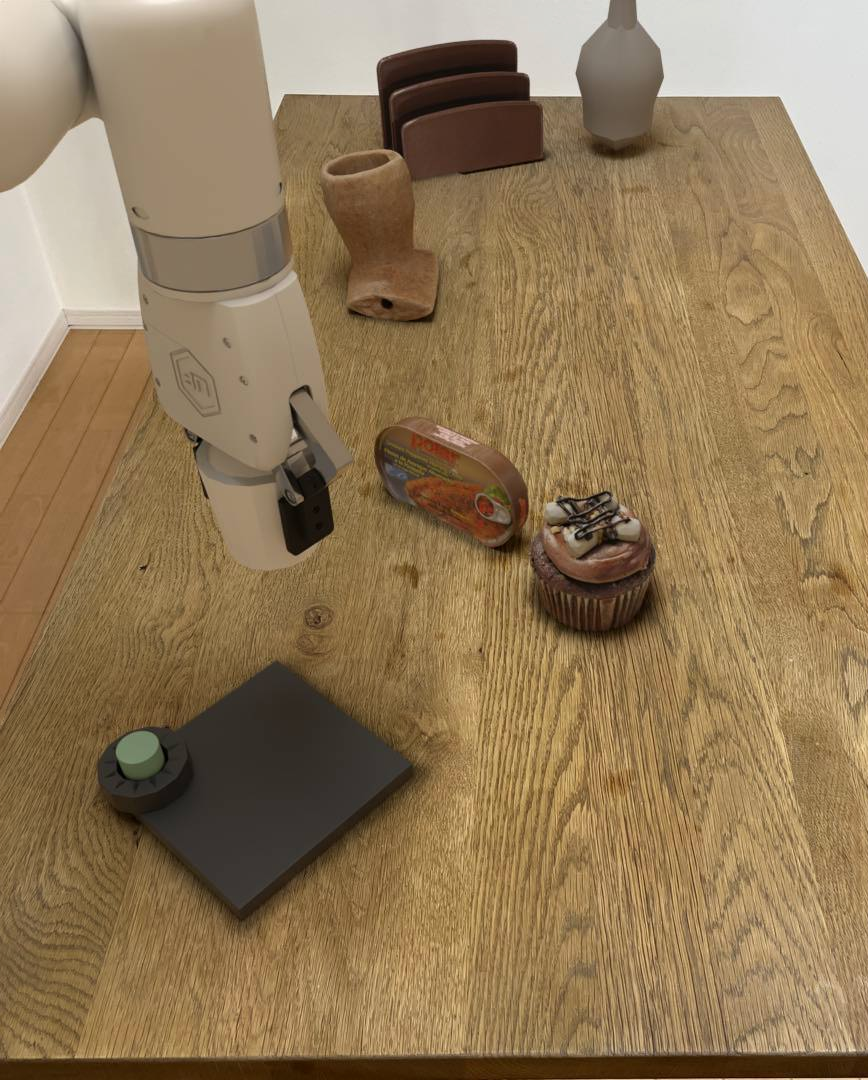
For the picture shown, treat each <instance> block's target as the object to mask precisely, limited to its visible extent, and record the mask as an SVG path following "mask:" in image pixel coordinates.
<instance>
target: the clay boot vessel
mask: <svg viewBox="0 0 868 1080" xmlns="http://www.w3.org/2000/svg"><path fill="white" fill-rule="evenodd" d="M319 183H320V188H321V191H322V192H321V193H322V196H323V197H322V198H323V202H324V206H325V208H326V211H327V214H328V215H329V217H330V219H331V221H332V223H333V225H334V226H335V228H336V230H337V233H338V234H339V236H340V238H341V240H342V242H343V244H344V246H345V248H346V250H347V252H348V255H349V256H350V259H351V262H352V268H351V270H350V272H349V277H348V283H347V296H346V300H345V303H346V307H347V308H348V309H350V310H351V311H354V312H356V313H359V314H361V315H363V316H366V317H370V318H375V319H385V320H394V321H398V322H408V321H414V320H418V319H422V318H425V317H427V316H429V315H431V313H432V312H434V308H435V304H436V300H437V294H438V285H439V277H440V262H439V258H438V255H437V254H436V253H435V252H434V251H431V250H427V249H416V248H414V221H415V220H414V219H415V208H416V207H415V206H416V201H415V195H414V189H413V183H412V180H411V178H410V174H409V170H408V167H407V165H406V163H405V161H404V159H403V158H402V157H401V155H400V154H398V153H397V152H395V151H392V150H385V149H384V148H383V149H382V148H381V149H380V148H379V149H378V148H376V149H370V150H360V151H355V152H351V153H348V154H343V155H341V156H338V157H336V158H332V159H331V160H329V161H328V162H326V163H325V164H324V165H323V166H322V168H321V170H320V172H319Z"/></svg>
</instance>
